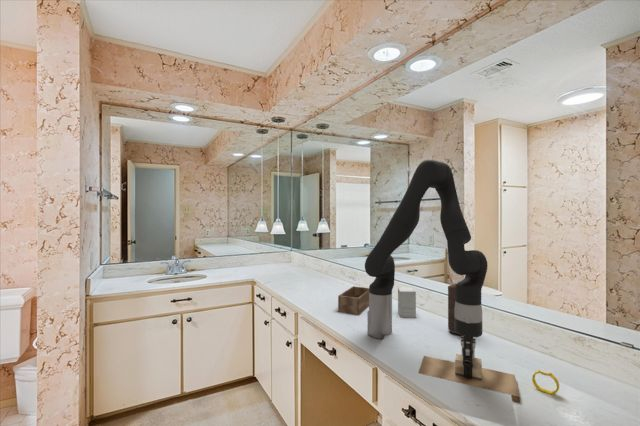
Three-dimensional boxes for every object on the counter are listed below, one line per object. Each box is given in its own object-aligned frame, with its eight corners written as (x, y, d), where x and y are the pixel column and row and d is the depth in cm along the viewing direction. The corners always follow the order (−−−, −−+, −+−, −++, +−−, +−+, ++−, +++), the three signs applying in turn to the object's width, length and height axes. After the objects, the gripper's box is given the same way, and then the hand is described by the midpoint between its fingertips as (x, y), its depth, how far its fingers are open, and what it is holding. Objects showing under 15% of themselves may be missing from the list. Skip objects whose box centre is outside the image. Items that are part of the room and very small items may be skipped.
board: (418, 377, 92) (418, 372, 92) (423, 360, 102) (423, 355, 102) (520, 402, 80) (520, 396, 80) (514, 379, 91) (514, 374, 91)
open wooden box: (338, 311, 151) (338, 295, 151) (353, 300, 170) (353, 286, 170) (359, 315, 146) (359, 298, 146) (372, 303, 165) (372, 288, 165)
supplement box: (412, 312, 150) (412, 287, 149) (416, 318, 142) (416, 291, 142) (397, 312, 150) (397, 287, 150) (400, 317, 143) (400, 291, 143)
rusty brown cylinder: (455, 337, 120) (456, 287, 120) (443, 330, 128) (443, 283, 127) (471, 335, 123) (471, 286, 122) (458, 328, 130) (459, 282, 129)
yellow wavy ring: (532, 390, 86) (530, 368, 86) (534, 386, 88) (533, 365, 88) (558, 398, 81) (556, 375, 82) (560, 394, 83) (558, 372, 84)
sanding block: (455, 374, 90) (455, 359, 90) (456, 368, 94) (456, 353, 94) (481, 380, 87) (481, 364, 87) (481, 373, 91) (481, 358, 91)
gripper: (455, 308, 99) (456, 360, 99) (452, 322, 86) (452, 382, 86) (482, 311, 95) (482, 366, 95) (482, 327, 82) (482, 390, 83)
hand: (468, 373), depth 91 cm, fingers closed on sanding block, 4 cm apart
